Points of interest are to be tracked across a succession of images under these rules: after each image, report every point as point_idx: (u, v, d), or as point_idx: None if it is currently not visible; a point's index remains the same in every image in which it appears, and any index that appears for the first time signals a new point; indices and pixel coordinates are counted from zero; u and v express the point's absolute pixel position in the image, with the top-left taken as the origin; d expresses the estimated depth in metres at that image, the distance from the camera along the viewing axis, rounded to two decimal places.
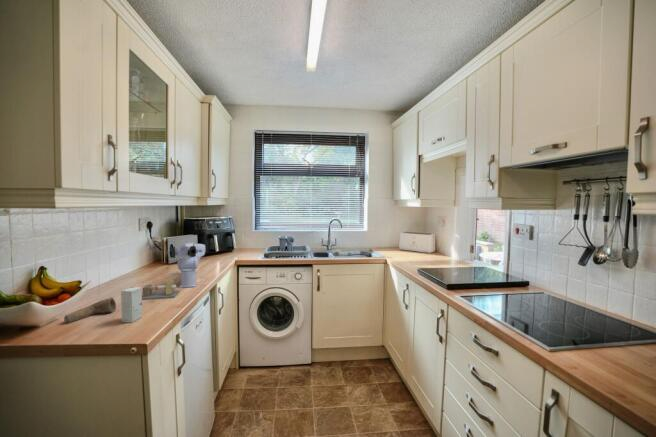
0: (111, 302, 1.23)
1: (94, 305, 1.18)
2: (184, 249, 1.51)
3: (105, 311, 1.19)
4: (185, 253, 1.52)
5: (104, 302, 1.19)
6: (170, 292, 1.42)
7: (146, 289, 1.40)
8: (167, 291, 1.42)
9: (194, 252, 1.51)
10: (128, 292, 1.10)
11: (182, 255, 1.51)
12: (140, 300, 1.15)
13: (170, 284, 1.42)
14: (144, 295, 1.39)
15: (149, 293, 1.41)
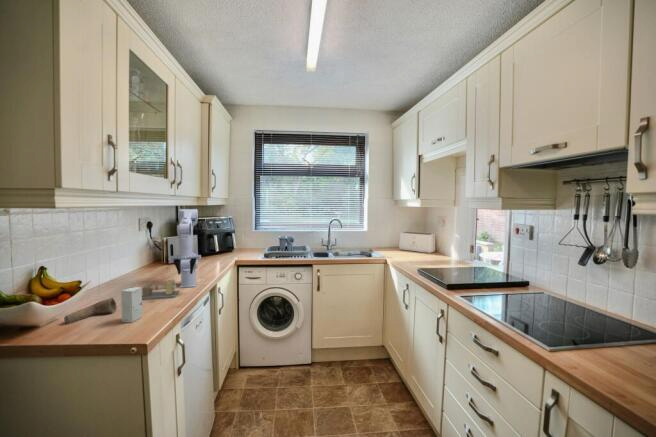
0: (111, 302, 1.22)
1: (95, 305, 1.18)
2: None
3: (105, 311, 1.18)
4: None
5: (104, 302, 1.18)
6: (170, 292, 1.42)
7: (146, 289, 1.40)
8: (167, 291, 1.42)
9: (195, 260, 1.48)
10: (128, 292, 1.10)
11: None
12: (140, 300, 1.15)
13: (170, 284, 1.42)
14: (144, 295, 1.39)
15: (149, 293, 1.41)
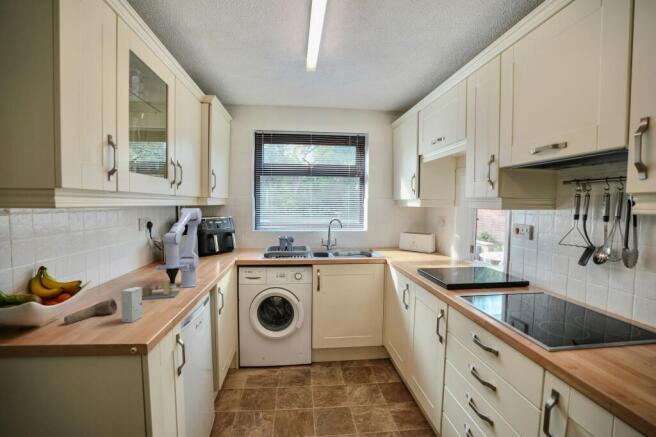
0: (112, 303, 1.21)
1: (95, 306, 1.17)
2: None
3: (105, 312, 1.17)
4: None
5: (105, 303, 1.17)
6: (168, 292, 1.42)
7: (146, 289, 1.40)
8: (165, 291, 1.41)
9: None
10: (128, 292, 1.10)
11: None
12: (140, 300, 1.15)
13: (168, 284, 1.42)
14: (144, 295, 1.39)
15: (149, 293, 1.41)
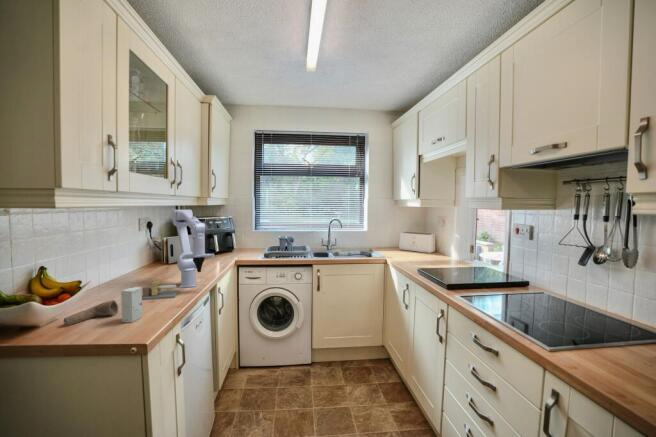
0: (113, 305, 1.19)
1: (96, 307, 1.15)
2: None
3: (106, 314, 1.15)
4: None
5: (105, 305, 1.15)
6: (156, 293, 1.40)
7: (146, 289, 1.40)
8: (153, 292, 1.40)
9: (203, 259, 1.51)
10: (128, 292, 1.10)
11: None
12: (140, 300, 1.15)
13: (156, 285, 1.40)
14: (144, 295, 1.39)
15: (149, 293, 1.41)
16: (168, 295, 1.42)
